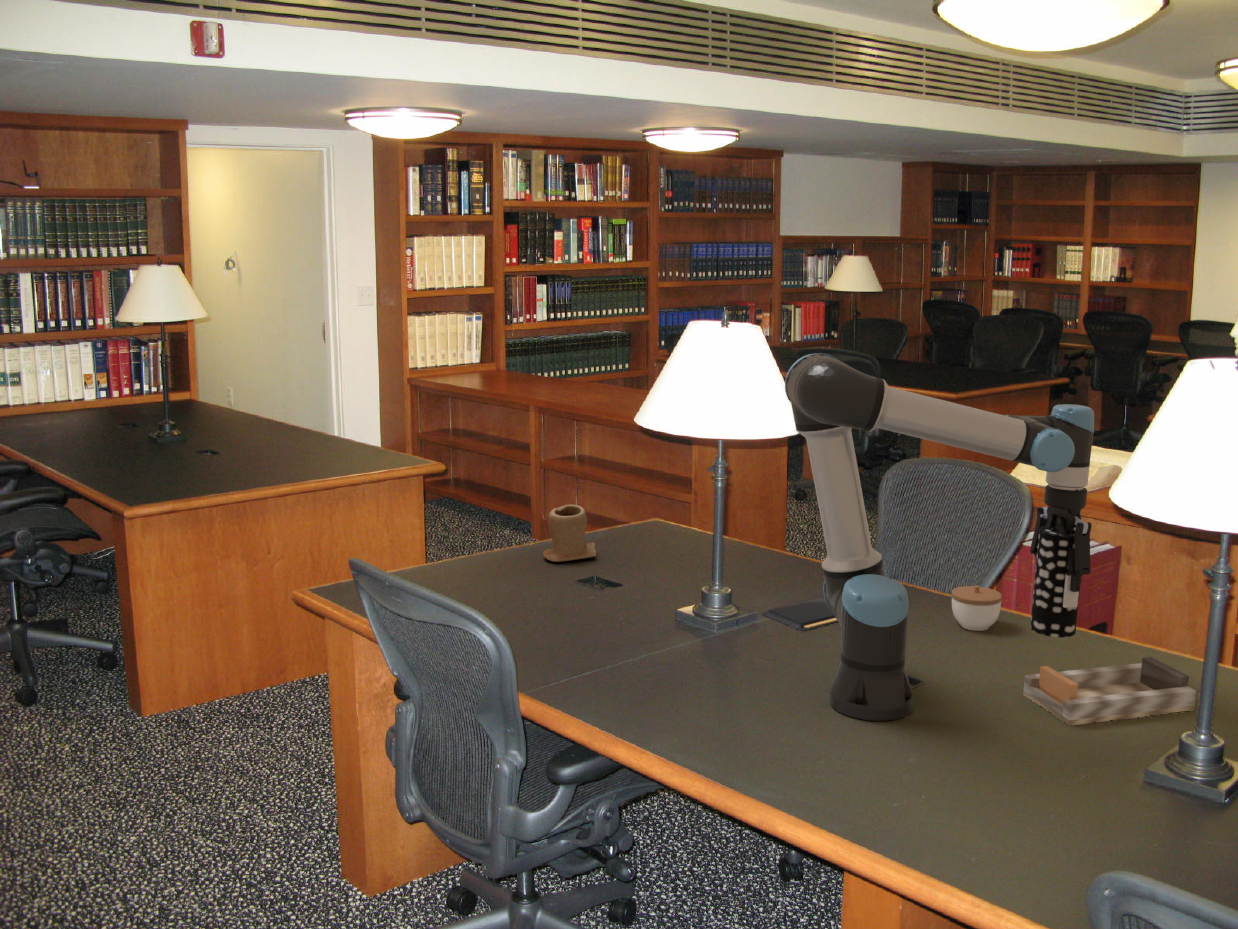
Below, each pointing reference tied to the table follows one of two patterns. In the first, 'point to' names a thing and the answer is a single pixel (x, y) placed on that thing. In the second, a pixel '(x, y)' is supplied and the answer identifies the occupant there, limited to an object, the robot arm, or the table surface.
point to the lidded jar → (976, 607)
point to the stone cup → (568, 534)
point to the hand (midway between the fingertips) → (1055, 599)
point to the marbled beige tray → (1117, 692)
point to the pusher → (1057, 685)
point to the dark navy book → (803, 615)
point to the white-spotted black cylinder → (1052, 586)
